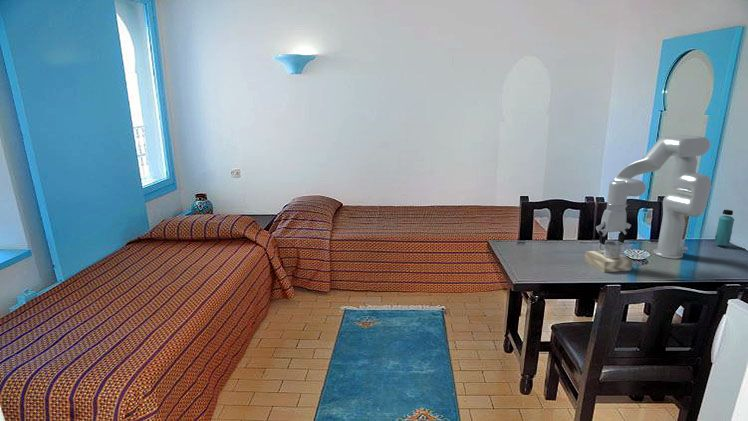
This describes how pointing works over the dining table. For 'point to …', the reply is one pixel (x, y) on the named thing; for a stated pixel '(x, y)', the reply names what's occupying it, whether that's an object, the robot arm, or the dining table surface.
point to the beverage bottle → (724, 228)
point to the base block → (608, 262)
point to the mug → (611, 249)
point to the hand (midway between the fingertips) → (611, 242)
